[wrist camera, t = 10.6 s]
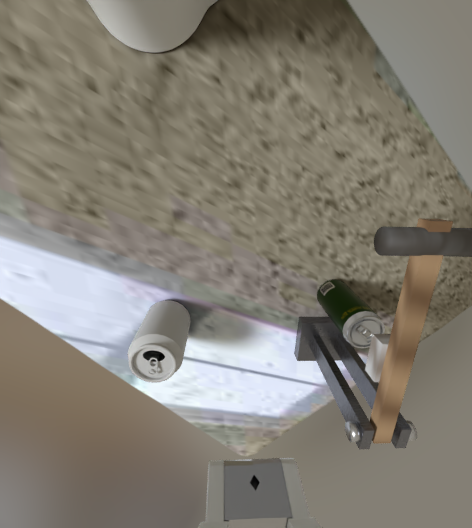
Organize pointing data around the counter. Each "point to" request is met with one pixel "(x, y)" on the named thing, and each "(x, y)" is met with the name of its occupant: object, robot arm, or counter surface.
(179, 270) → the counter surface
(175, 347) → the can
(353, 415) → the press frame
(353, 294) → the green soda can
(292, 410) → the counter surface
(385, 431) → the hammer
